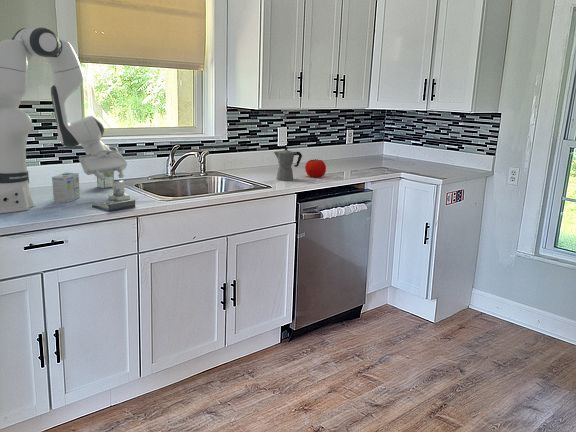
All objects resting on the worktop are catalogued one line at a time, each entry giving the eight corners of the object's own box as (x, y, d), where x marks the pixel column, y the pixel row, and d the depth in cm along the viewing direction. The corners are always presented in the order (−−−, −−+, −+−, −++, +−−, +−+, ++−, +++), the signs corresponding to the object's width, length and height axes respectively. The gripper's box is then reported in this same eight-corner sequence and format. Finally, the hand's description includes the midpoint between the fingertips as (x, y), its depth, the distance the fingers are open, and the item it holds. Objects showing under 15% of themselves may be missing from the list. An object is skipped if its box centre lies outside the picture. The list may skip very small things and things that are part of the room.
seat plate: (110, 211, 210) (110, 204, 209) (92, 206, 217) (91, 199, 216) (135, 206, 219) (135, 199, 219) (117, 202, 226) (116, 195, 225)
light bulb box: (65, 196, 232) (64, 172, 230) (80, 197, 232) (79, 173, 229) (53, 201, 222) (51, 176, 219) (68, 202, 221) (66, 177, 219)
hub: (117, 201, 227) (116, 182, 225) (108, 199, 231) (107, 180, 229) (130, 199, 232) (129, 180, 230) (120, 197, 236) (120, 178, 234)
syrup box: (107, 185, 258) (106, 155, 255) (114, 187, 255) (113, 157, 251) (97, 186, 254) (95, 156, 250) (104, 188, 250) (102, 158, 247)
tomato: (324, 175, 309) (325, 157, 307) (326, 179, 298) (327, 160, 296) (304, 174, 309) (304, 157, 306) (305, 178, 298) (306, 160, 295)
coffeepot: (272, 180, 288) (273, 147, 284) (273, 177, 297) (274, 145, 293) (300, 181, 287) (302, 148, 283) (301, 178, 296) (302, 146, 292)
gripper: (79, 151, 225) (94, 177, 222) (120, 147, 241) (134, 171, 238) (74, 160, 229) (89, 186, 226) (114, 155, 245) (128, 179, 242)
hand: (112, 178), depth 232 cm, fingers open, 8 cm apart
